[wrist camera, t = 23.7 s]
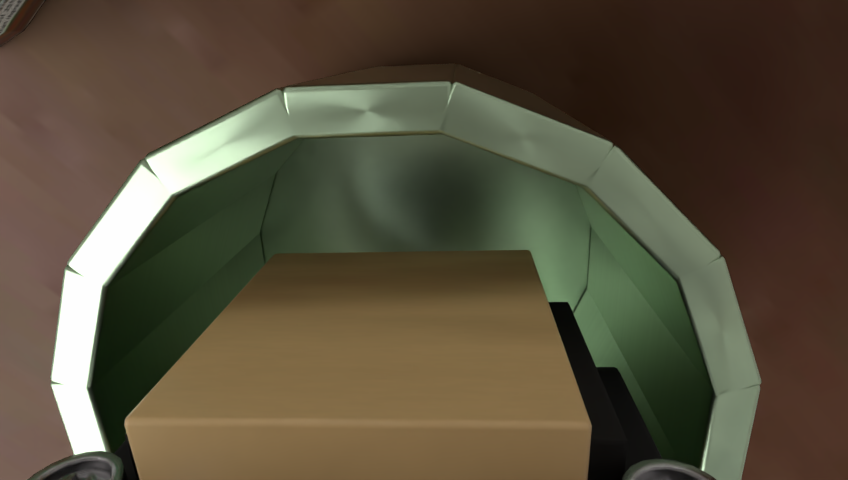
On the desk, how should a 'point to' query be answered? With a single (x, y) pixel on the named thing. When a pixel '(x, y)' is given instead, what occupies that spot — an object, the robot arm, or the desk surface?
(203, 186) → the tin
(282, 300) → the block
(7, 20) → the food container
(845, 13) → the desk surface
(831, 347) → the desk surface
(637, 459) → the robot arm
